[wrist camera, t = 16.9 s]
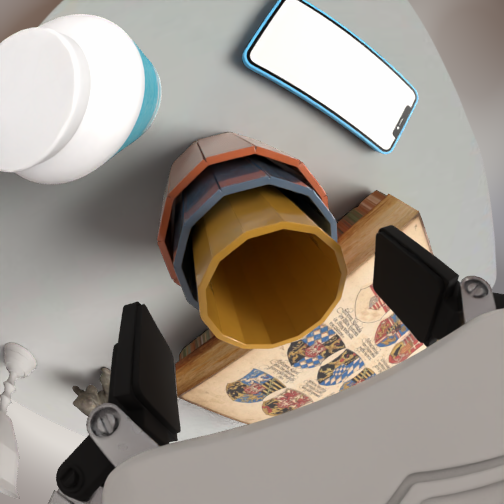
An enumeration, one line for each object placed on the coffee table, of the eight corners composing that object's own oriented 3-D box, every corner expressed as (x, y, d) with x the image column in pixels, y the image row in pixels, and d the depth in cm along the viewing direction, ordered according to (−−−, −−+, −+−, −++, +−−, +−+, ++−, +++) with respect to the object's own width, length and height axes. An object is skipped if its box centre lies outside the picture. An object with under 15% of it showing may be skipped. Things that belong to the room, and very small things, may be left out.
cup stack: (151, 153, 19) (125, 195, 10) (273, 122, 20) (347, 140, 11) (185, 260, 24) (194, 355, 15) (291, 230, 25) (351, 305, 16)
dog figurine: (172, 377, 31) (177, 430, 25) (162, 401, 33) (165, 449, 27) (74, 354, 26) (62, 408, 20) (74, 381, 28) (66, 430, 22)
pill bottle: (139, 34, 15) (87, -52, 3) (179, 116, 19) (172, 131, 7) (53, 88, 15) (-72, 93, 3) (92, 166, 19) (-2, 252, 7)
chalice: (-11, 343, 23) (-51, 461, 7) (14, 329, 23) (-31, 467, 8) (26, 379, 27) (3, 494, 11) (53, 370, 27) (32, 502, 11)
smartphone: (286, -11, 14) (421, 94, 20) (281, -6, 15) (412, 94, 21) (238, 60, 17) (388, 158, 23) (235, 63, 18) (380, 155, 24)
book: (285, 414, 42) (427, 310, 37) (296, 446, 36) (452, 337, 32) (163, 356, 29) (375, 186, 25) (164, 404, 24) (419, 211, 20)
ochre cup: (177, 171, 19) (174, 252, 9) (260, 149, 20) (346, 204, 10) (199, 243, 23) (220, 364, 12) (273, 222, 23) (346, 322, 13)
